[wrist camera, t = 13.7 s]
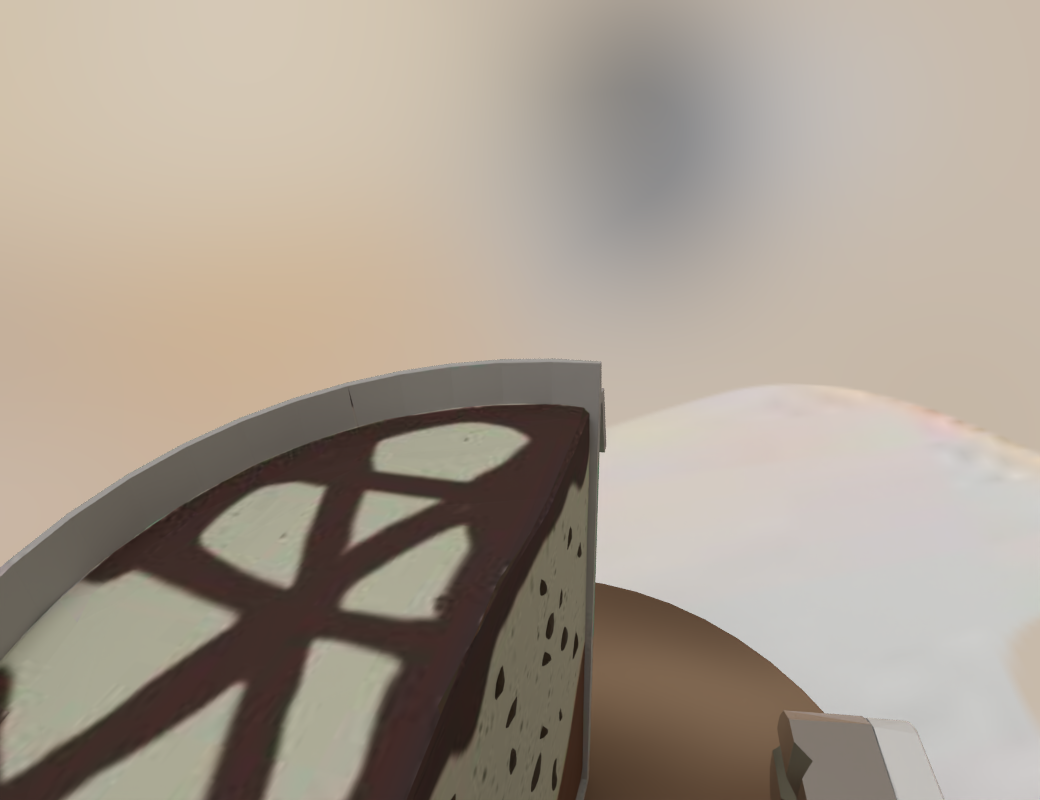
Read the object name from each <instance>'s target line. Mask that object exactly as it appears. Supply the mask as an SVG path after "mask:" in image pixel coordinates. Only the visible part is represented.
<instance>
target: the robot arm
mask: <svg viewBox="0 0 1040 800" xmlns="http://www.w3.org/2000/svg"><path fill="white" fill-rule="evenodd" d="M777 731H778V737H779V742H780V746H778V747H777V748H775V749H774V750H773V751H772V757H771V763H770V798H771V800H944V797H943V795H942V792H941V790H940V787H939V785H938V782H937V780H936V777H935V775H934V772H933V770H932V767H931V765H930V762H929V760H928V757H927V755H926V752H925V750H924V747H923V745H922V742H921V740H920V737H919V735H918V732H917V730H916V729H915V728H914V727H913V725H912V724H911V723H910V722H908V721H901V720H888V719H875V718H864V717H862V716H853V715H839V714H826V713H813V712H799V711H786V710H783V712H782V713H781V714H780V716H779V721H778V726H777Z"/></svg>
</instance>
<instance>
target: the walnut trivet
mask: <svg viewBox="0 0 1040 800" xmlns="http://www.w3.org/2000/svg"><path fill="white" fill-rule="evenodd" d="M783 710H786V711H799V712H813V713H824V712H823V711H822V710H821V709H820V708H819V707H818V706H817V705H816V704H815V703H814V702H813V701H812V699H811V698H810V697H809V696H808V695H807V694H806V693H805V692H804V691H803V690H802V689H801V688H800V687H798V686H797V685H796V684H795V683H794V682H793V681H792V680H790V679H789V678H788V677H787V676H786V675H785V674H784V673H782V672H781V671H780V670H779V669H778V668H777V667H776V666H774V665H773V664H772V663H771V662H770V661H768V660H767V659H765V658H764V657H763V656H761V655H760V654H758V653H757V652H756V651H754V650H753V649H751V648H750V647H749V646H747V645H746V644H744V643H743V642H742V641H740V640H739V639H737V638H736V637H734V636H732V635H731V634H729V633H727V632H725V631H724V630H722V629H720V628H718V627H717V626H715V625H713V624H711V623H710V622H708V621H706V620H705V619H703V618H700V617H698V616H696V615H694V614H692V613H689V612H687V611H685V610H683V609H681V608H678V607H676V606H674V605H672V604H670V603H667V602H664V601H661V600H658V599H655V598H652V597H649V596H646V595H644V594H641V593H638V592H634V591H630V590H626V589H622V588H618V587H614V586H610V585H606V584H601V583H595V605H594V637H593V669H592V700H591V732H590V763H589V780H588V784H587V788H586V793H585V797H584V800H771V798H770V763H771V757H772V751H773V750H774V749H775V748H777V747H778V746H780V742H779V737H778V731H777V726H778V721H779V716H780V714H781V713H782V712H783Z"/></svg>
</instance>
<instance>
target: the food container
mask: <svg viewBox="0 0 1040 800" xmlns="http://www.w3.org/2000/svg"><path fill="white" fill-rule="evenodd" d="M605 449H606V428H605V402H604V388H601V362H598V361H582V360H567V359H500V360H488V361H476V362H464V363H452V364H444V365H438V366H431V367H424V368H418V369H411V370H405V371H398V372H393V373H389V374H384V375H380V376H375V377H371V378H366V379H361V380H357V381H353V382H348V383H344V384H341V385H337V386H334V387H331V388H327V389H324V390H320V391H317V392H313V393H310V394H307V395H303V396H300V397H296V398H293V399H290V400H287V401H285V402H282V403H279V404H277V405H274V406H271V407H269V408H266V409H263V410H260V411H258V412H255V413H252V414H249V415H247V416H244V417H241V418H239V419H237V420H234V421H232V422H230V423H228V424H226V425H224V426H222V427H219V428H217V429H215V430H212V431H210V432H208V433H206V434H204V435H202V436H199V437H197V438H195V439H193V440H190V441H188V442H186V443H184V444H182V445H180V446H178V447H177V448H175V449H173V450H171V451H169V452H167V453H166V454H164V455H162V456H160V457H158V458H156V459H155V460H153V461H151V462H149V463H147V464H146V465H144V466H142V467H140V468H138V469H137V470H135V471H133V472H131V473H129V474H127V475H126V476H124V477H123V478H121V479H119V480H118V481H116V482H115V483H113V484H112V485H110V486H109V487H107V488H106V489H104V490H103V491H101V492H100V493H98V494H97V495H95V496H94V497H92V498H91V499H89V500H88V501H86V502H85V503H83V504H82V505H80V506H79V507H77V508H76V509H74V510H73V511H71V512H69V513H68V514H66V515H65V516H64V517H63V518H61V519H60V520H59V521H58V522H56V523H55V524H54V525H53V526H51V527H50V528H49V529H47V530H46V531H45V532H44V533H42V534H41V535H40V536H39V537H37V538H36V539H35V540H34V541H32V542H31V543H30V544H29V545H27V546H26V547H25V548H23V549H22V550H21V551H20V552H18V553H17V554H16V555H15V556H13V557H12V558H11V559H10V560H8V561H7V562H6V563H5V564H4V565H3V566H2V567H0V800H584V797H585V793H586V788H587V784H588V780H589V763H590V732H591V700H592V669H593V637H594V605H595V574H596V542H597V511H598V479H599V452H605Z"/></svg>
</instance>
